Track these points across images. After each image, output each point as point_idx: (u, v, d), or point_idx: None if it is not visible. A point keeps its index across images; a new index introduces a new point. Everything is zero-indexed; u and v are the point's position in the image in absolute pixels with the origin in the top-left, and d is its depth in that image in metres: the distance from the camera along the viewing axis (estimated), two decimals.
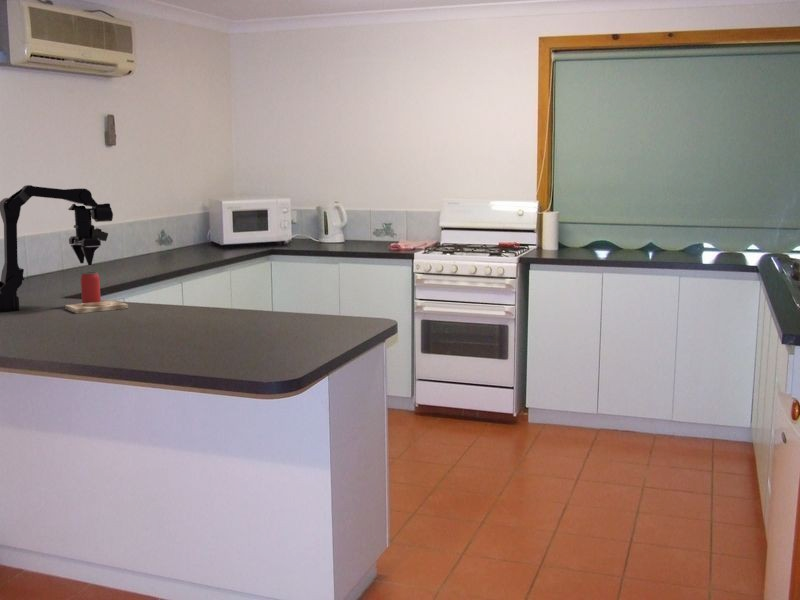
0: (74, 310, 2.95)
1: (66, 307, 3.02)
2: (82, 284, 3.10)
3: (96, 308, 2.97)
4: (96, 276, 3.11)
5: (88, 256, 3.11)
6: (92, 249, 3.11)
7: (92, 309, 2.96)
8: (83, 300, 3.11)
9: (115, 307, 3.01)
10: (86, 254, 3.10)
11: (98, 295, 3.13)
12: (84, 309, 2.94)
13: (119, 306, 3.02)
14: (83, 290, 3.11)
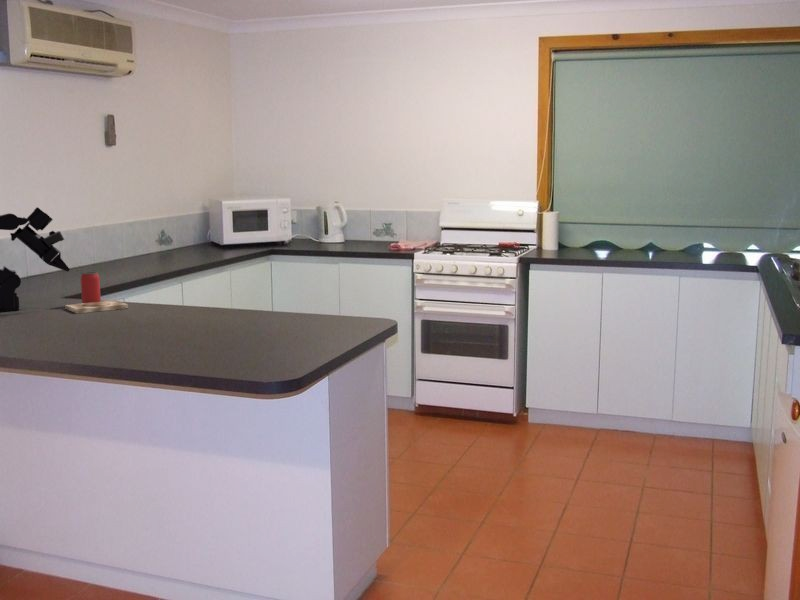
0: (74, 310, 2.95)
1: (66, 307, 3.02)
2: (82, 284, 3.10)
3: (96, 308, 2.97)
4: (96, 276, 3.11)
5: (60, 266, 3.02)
6: (57, 258, 3.01)
7: (92, 309, 2.96)
8: (83, 300, 3.11)
9: (115, 307, 3.01)
10: (57, 266, 3.01)
11: (98, 295, 3.13)
12: (84, 309, 2.94)
13: (119, 306, 3.02)
14: (83, 290, 3.11)
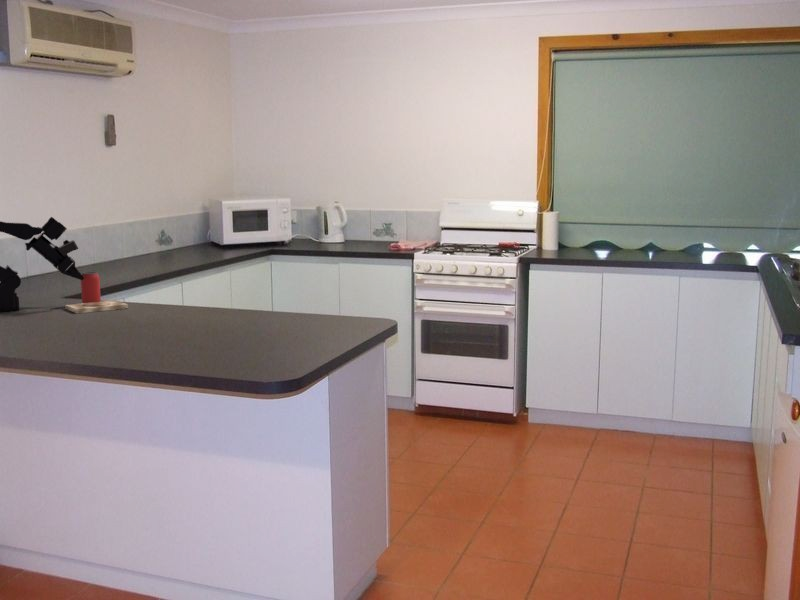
0: (74, 310, 2.95)
1: (66, 307, 3.02)
2: (82, 284, 3.10)
3: (96, 308, 2.97)
4: (96, 276, 3.11)
5: (75, 275, 3.05)
6: (72, 267, 3.04)
7: (92, 309, 2.96)
8: (83, 300, 3.11)
9: (115, 307, 3.01)
10: (71, 275, 3.04)
11: (98, 295, 3.13)
12: (84, 309, 2.94)
13: (119, 306, 3.02)
14: (83, 290, 3.11)
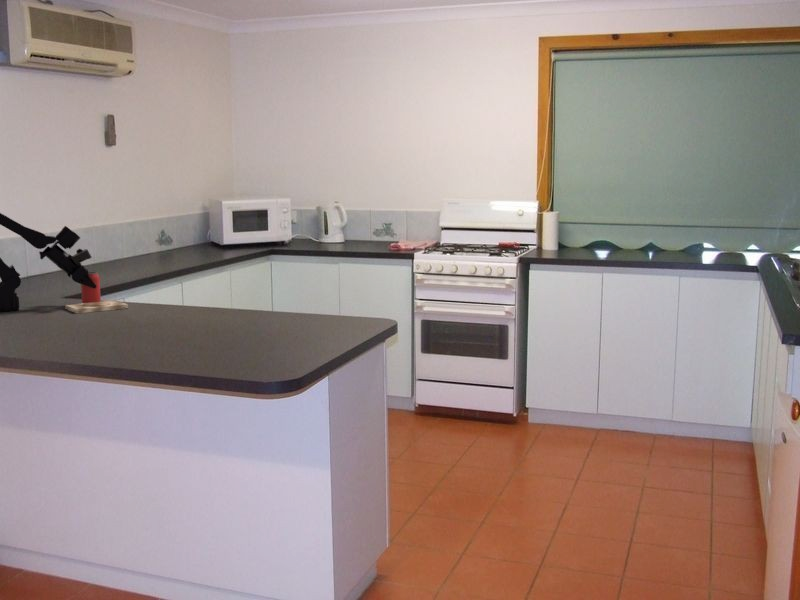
0: (74, 310, 2.95)
1: (66, 307, 3.02)
2: (82, 284, 3.10)
3: (96, 308, 2.97)
4: (96, 276, 3.11)
5: (87, 283, 3.08)
6: (85, 275, 3.07)
7: (92, 309, 2.96)
8: (83, 300, 3.11)
9: (115, 307, 3.01)
10: (84, 283, 3.07)
11: (98, 295, 3.13)
12: (84, 309, 2.94)
13: (119, 306, 3.02)
14: (83, 290, 3.11)
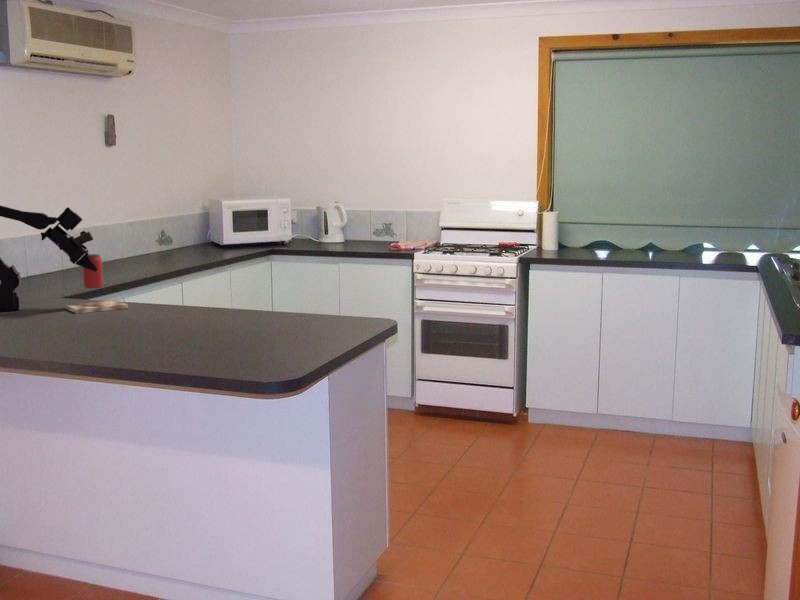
0: (74, 310, 2.95)
1: (66, 307, 3.02)
2: None
3: (96, 308, 2.97)
4: (97, 259, 3.07)
5: (88, 265, 3.04)
6: (85, 258, 3.03)
7: (92, 309, 2.96)
8: (84, 283, 3.07)
9: (115, 307, 3.01)
10: (84, 265, 3.03)
11: (99, 278, 3.08)
12: (84, 309, 2.94)
13: (119, 306, 3.02)
14: (84, 272, 3.06)
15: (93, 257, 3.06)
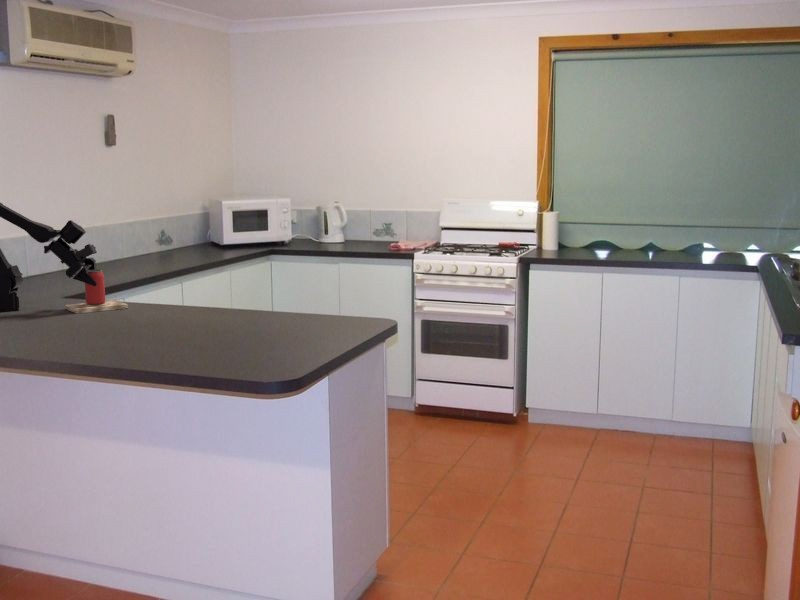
0: (74, 310, 2.95)
1: (66, 307, 3.02)
2: None
3: (96, 308, 2.97)
4: (98, 275, 2.99)
5: (86, 280, 2.96)
6: (83, 272, 2.96)
7: (92, 309, 2.96)
8: None
9: (115, 307, 3.01)
10: (83, 280, 2.96)
11: (100, 294, 3.01)
12: (84, 309, 2.94)
13: (119, 306, 3.02)
14: (85, 288, 3.00)
15: (93, 273, 2.99)
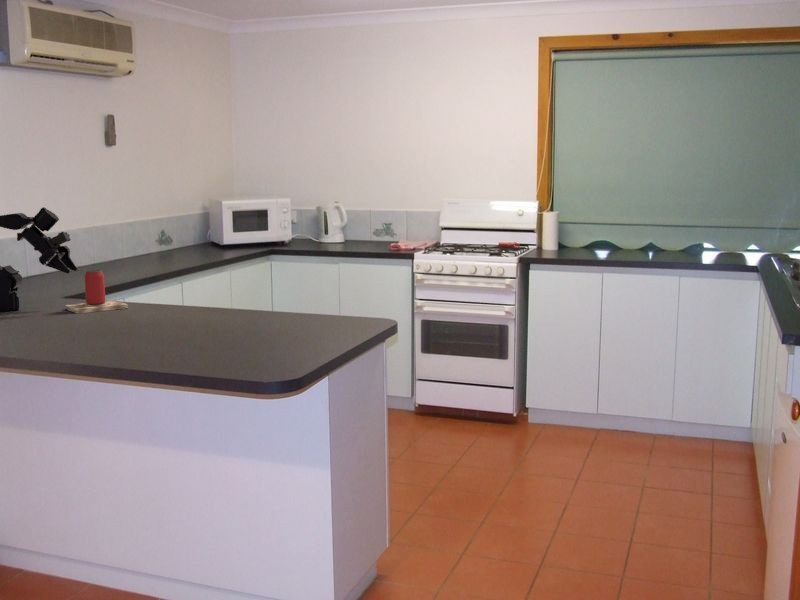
0: (74, 310, 2.95)
1: (66, 307, 3.02)
2: (85, 282, 3.01)
3: (96, 308, 2.97)
4: (98, 274, 3.00)
5: (59, 267, 2.95)
6: (56, 259, 2.94)
7: (92, 309, 2.96)
8: None
9: (115, 307, 3.01)
10: (56, 267, 2.95)
11: (100, 294, 3.01)
12: (84, 309, 2.94)
13: (119, 306, 3.02)
14: (85, 288, 3.00)
15: (93, 273, 2.99)
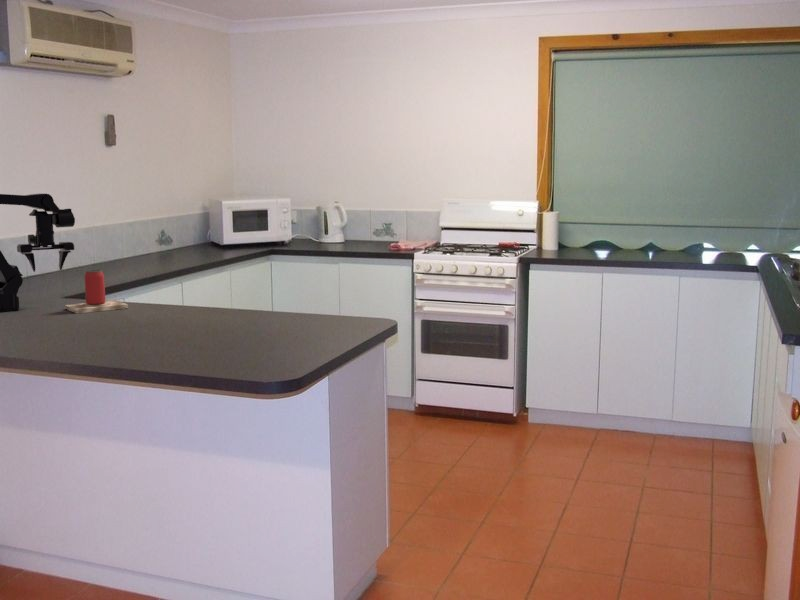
0: (74, 310, 2.95)
1: (66, 307, 3.02)
2: (85, 282, 3.01)
3: (96, 308, 2.97)
4: (98, 275, 3.00)
5: None
6: None
7: (92, 309, 2.96)
8: None
9: (115, 307, 3.01)
10: None
11: (100, 294, 3.01)
12: (84, 309, 2.94)
13: (119, 306, 3.02)
14: (85, 288, 3.00)
15: (93, 273, 2.99)
